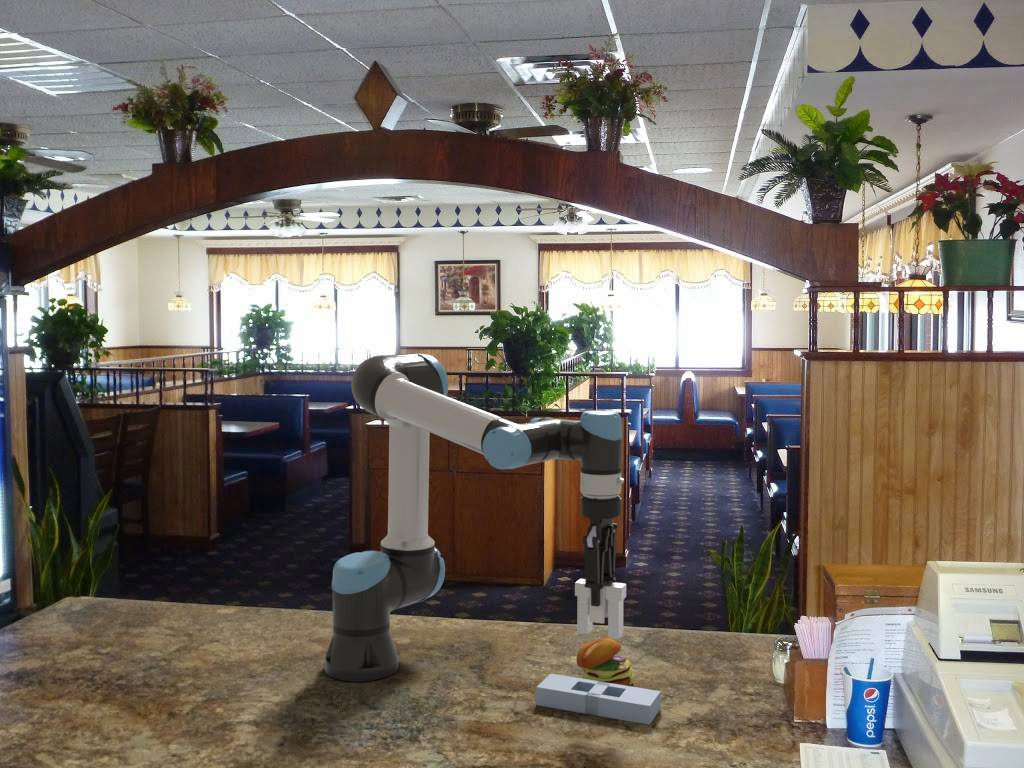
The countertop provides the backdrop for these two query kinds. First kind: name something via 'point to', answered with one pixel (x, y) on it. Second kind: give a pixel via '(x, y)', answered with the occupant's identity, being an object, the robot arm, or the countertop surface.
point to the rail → (599, 698)
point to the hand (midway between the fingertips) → (600, 618)
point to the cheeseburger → (605, 662)
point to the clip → (615, 607)
